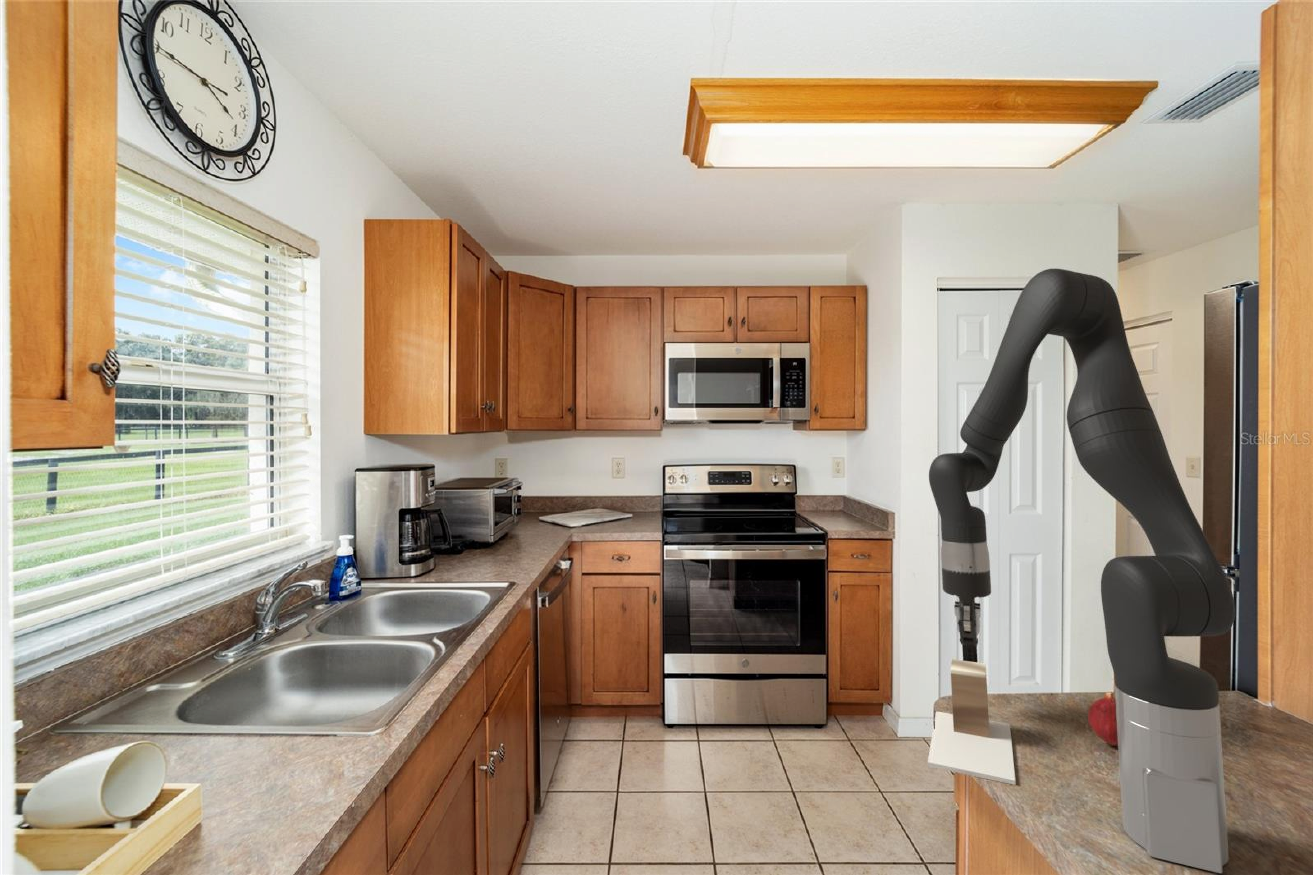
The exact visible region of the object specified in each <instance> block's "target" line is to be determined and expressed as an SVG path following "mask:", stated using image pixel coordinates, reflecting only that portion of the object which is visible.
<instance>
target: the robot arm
mask: <svg viewBox="0 0 1313 875" xmlns="http://www.w3.org/2000/svg"><path fill="white" fill-rule="evenodd" d="M1124 324H1125V323H1124V320H1123V315H1122V311H1121V306H1120V303H1119V300H1118V297H1117V293H1116V291H1115V290H1114V288H1113V286H1112V285H1111V284H1110V283H1109V282H1108V281H1107V280H1105V279H1104V278H1102V277H1099V276H1096V275H1092V274H1087V273H1083V272H1077V271H1072V270H1068V269H1063V268H1048V269H1044V270H1041V271H1040V272H1038V273H1036V274H1035V275H1034V276H1033V277H1032V278H1031V279H1029V281H1028V282H1027V283H1026V284H1025V286H1024V287H1023V289H1022V291H1021V293H1020V294H1019V297H1018V298H1017V301H1016V303H1015V306H1014V308H1013V310H1012V313H1011V316H1010V318H1009V321H1008V324H1007V327H1006V329H1005V332H1004V335H1003V338H1002V340H1001V343H1000V346H999V348H998V351H997V354H996V356H995V359H994V362H993V365H992V368H991V370H990V373H989V376H988V378H987V380H986V382H985V385H984V387H983V388H982V390H981V392H980V394H979V396H978V398H977V399H976V401H975V403H974V404H973V406H972V408H971V409H970V412H969V413H968V415H967V417H966V419H965V420H964V422H963V424H962V426H961V428H960V432H959V433H960V438H961V440H962V441H963V443H964V444H966V446H965V449H964V450H963V451H962V452H951V453H949V452H948V453H942V454H940V455H937V456H936V457H935V458H934V459H933V460H932V462H931V464H930V466H929V470H928V481H929V486H930V489H931V492H932V496H933V499H934V502H935V505H936V508H937V511H938V514H939V516H940V529H941V530H940V531H941V547H940V560H941V564H940V565H941V577H942V579H941V581H942V590H943V592H944V593H946V594H948V595H950V596H956V597H958V601H957V600H955V602H954V607H953V608H954V615H955V616H956V630H957V632H959V642H960V645H961V646H962V647H961V649H962V661H970V662H977V663H979V661H978V645H979V638H978V635H979V634H980V633H981V632H980V630H981V628H980V626H981V625H980V624H981V623H980V622H981V621H980V618H981V603H980V602H976V598H986V597H989V596H990V595H991V593H992V583H991V582H992V581H991V580H992V579H991V563H990V561H991V560H990V552H989V547H988V541H987V540H988V539H987V521H986V516H985V513H984V510H982V509H981V508H980V507H977V506H973V505H971V502H970V499H969V496H968V493H974V492H977V491H978V492H979V491H981V490H983V489H984V488H986V487H987V486H988V485H989V484H990V483H991V482H992V481H993V479H994V478H995V475H996V473H997V470H998V467H999V464H1000V461H1001V459H1002V458H1001V457H1002V454H1003V450H1004V446H1005V444H1006V443H1007V442H1008V440H1009V438H1010V437H1011V435H1012V434H1013V432H1014V430H1015V429H1016V427H1017V426H1018V425H1019V423H1020V421H1021V420H1022V418H1023V415H1024V413H1025V411H1026V409H1027V405H1028V404H1027V403H1028V398H1029V373H1030V368H1031V363H1032V360H1033V357H1034V355H1035V353H1036V351H1037V350H1038V347H1039V346H1040V345H1041V344H1042V342H1043V341H1044V339H1045V338H1046V337H1047V336H1048V335H1052V336H1056V337H1062V338H1064V339H1065V340H1066V342H1067V344H1068V346H1069V347H1070V351H1071V352H1072V353H1071V354H1072V355H1073V359H1074V362H1075V365H1076V370H1077V371H1076V372H1077V375H1076V381H1075V385H1074V387H1073V391H1072V392H1071V395H1070V399H1069V402H1068V405H1067V411H1066V423H1067V428H1068V432H1069V434H1070V438H1071V441H1072V445H1073V448H1074V450H1075V453H1076V457H1077V459H1078V462H1079V464H1080V466H1081V468H1083V470H1084V471H1085V472H1086V473H1087V474H1088V475H1089V476H1090V478H1091V479H1093V480H1094V481H1095V483H1097V484H1098V486H1100V487H1101V488H1102V489H1103V490H1104V491H1106V493H1108V494H1109V495H1110V496H1111V497H1112V498H1114V499H1115V500H1116V501H1117V502H1118V503H1120V504H1121V506H1122V507H1123V508H1124V509H1126V511H1128V512H1129V513H1130V514H1131V515H1132V516H1133V517H1134V519H1135V520H1136V522H1138V524H1139V525H1140V527H1141V528H1142V530H1143V532H1144V534H1145V536H1146V537H1147V540H1148V541H1149V544H1150V545H1151V547H1152V549H1153V553H1154V555H1126V556H1123V555H1122V556H1118V557H1117V556H1116V557H1114V558H1112V559H1110V560H1108V562H1106V564H1105V566H1104V567H1103V569H1102V573H1101V579H1100V595H1101V605H1102V612H1103V620H1104V629H1105V635H1106V636H1105V637H1106V639H1105V640H1106V647H1107V654H1108V656H1109V657H1108V658H1109V661H1110V664H1111V667H1112V671H1113V676H1114V678H1113V680H1114V697H1115V699H1116V717H1117V734H1118V745H1117V750H1118V752H1117V753H1118V764H1119V765H1118V766H1119V782H1120V783H1119V784H1120V785H1119V786H1120V799H1121V815H1122V816H1121V817H1122V827H1123V830H1124V832H1125V833H1126V834H1127V835H1128V837H1130V838H1129V839H1131V840H1132V841H1134V842H1135V843H1136V844H1138V845H1139V846H1141V847H1142V848H1143V849H1144V850H1145V851H1146V852H1147V854H1148V856H1150V857H1152V858H1155V859H1160V860H1164V861H1168V862H1171V863H1177V864H1181V865H1185V866H1188V867H1192V868H1196V869H1201V870H1205V871H1209V872H1213V873H1218V874H1223V872H1224V871H1223V867H1224V865H1225V866H1226V864H1227V863H1228V862H1229V857H1230V856H1229V842H1228V840H1229V839H1228V827H1227V826H1228V824H1227V813H1226V798H1225V797H1226V796H1225V781H1224V765H1223V761H1224V760H1223V749H1222V731H1221V729H1222V728H1221V726H1222V725H1221V715H1220V714H1221V713H1220V710H1221V709H1220V696H1219V694H1220V693H1219V685H1218V682H1217V680H1216V679H1215V677H1214V676H1213V675H1212V674H1211V673H1210V672H1208V671H1206V670H1204V669H1203V668H1201V667H1198V666H1197V665H1194V664H1192V663H1188V662H1186V661H1183V660H1179V659H1177V658H1172V657H1170V656H1169V655H1168V650H1167V646H1166V639H1165V637H1170V638H1171V637H1180V638H1181V637H1182V638H1183V637H1184V638H1185V637H1190V638H1191V637H1216V636H1222V635H1224V634H1226V633H1227V632H1229V631H1230V630H1231V628H1232V627H1233V625H1234V622H1235V620H1236V619H1235V618H1236V603H1235V599H1234V598H1235V597H1234V594H1233V591H1232V588H1231V586H1230V583H1229V579H1228V577H1227V575H1226V573H1225V571H1224V569H1223V567H1222V565H1221V563H1220V561H1219V559H1218V558H1217V555H1216V553H1215V552H1214V549H1213V547H1212V545H1211V544H1210V542H1209V540H1208V538H1207V537H1206V535H1205V532H1204V530H1203V529H1202V527H1201V525H1200V523H1199V520H1198V519H1197V517H1196V515H1195V513H1194V512H1193V511H1194V510H1192V508H1191V506H1190V505H1191V504H1190V503H1189V501H1188V498H1187V497H1186V493H1185V491H1184V490H1183V487H1182V485H1181V482H1180V480H1179V477H1178V474H1177V473H1176V470H1175V468H1174V465H1173V463H1172V460H1171V457H1170V454H1169V450H1168V448H1167V445H1166V443H1165V440H1164V436H1163V433H1162V430H1161V428H1160V426H1159V423H1158V420H1157V418H1156V415H1155V412H1154V410H1153V408H1152V405H1151V403H1150V401H1149V399H1148V396H1147V395H1146V394H1147V393H1146V391H1145V388H1144V386H1143V384H1142V381H1141V377H1140V374H1139V372H1138V370H1137V366H1136V364H1135V361H1134V359H1133V355H1132V352H1131V349H1130V346H1129V342H1128V338H1127V334H1126V329H1125V325H1124Z"/></svg>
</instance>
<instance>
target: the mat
mask: <svg viewBox="0 0 1313 875" xmlns="http://www.w3.org/2000/svg"><path fill="white" fill-rule="evenodd" d="M934 721H935V729H934V726H933V727H932V734H931V740H930V746H929V752H928V757H927V767H930V768H935V769H939V770H944V771H949V772H952V773H957V774H963V775H967V776H972V777H977V778H982V779H984V780H991V781H995V782H999V783H1000V782H1001V783H1004V784H1007V785H1008V784H1010V785H1014V786H1016V774H1015V773H1016V772H1015V765H1014V754H1013V744H1012V742H1013V741H1012V734H1011V724H1010V723H1006V722H1001V721H1000V722H999V721H994V720H989V738H986V737H981V736H975V735H970V734H965V733H959V732H954V726H953V713H948V712H947V713H946V712H941V711H935V717H934Z"/></svg>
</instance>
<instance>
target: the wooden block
mask: <svg viewBox="0 0 1313 875" xmlns="http://www.w3.org/2000/svg"><path fill="white" fill-rule="evenodd" d="M950 663H951V665H950V684H951V685H950V686H951V701H952V702H951V703H952V704H951V705H952V714H953V726H954V732H959V733H965V734H970V735H975V736H981V737H986V738H989V721H990V720H989V700H988V682H987V681H988V680H987V665H986V664H987V663H984V662H978V663H977V662H970V661H963V659H962V660H961V659H953V658H952V659H951V662H950Z"/></svg>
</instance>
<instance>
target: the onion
mask: <svg viewBox="0 0 1313 875" xmlns="http://www.w3.org/2000/svg"><path fill="white" fill-rule="evenodd" d="M1087 721H1088V723H1089V724H1088V725H1089V726H1090V728H1091V729H1092V730H1093V732H1094V733H1095V735H1097V736H1098V738H1099V739H1101V740H1103V741H1104V742H1105V743H1106V744H1108V745H1109V746H1112V747H1116V746H1117V747H1118V734H1117V717H1116V697H1115V693H1114V694H1113V693H1112V692H1109V691H1108V692H1105V696H1104V697H1103V698H1100V699H1097V700H1096V701H1094V702H1093V703H1092V704H1091V705H1090V707H1089V709H1088V712H1087Z"/></svg>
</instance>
